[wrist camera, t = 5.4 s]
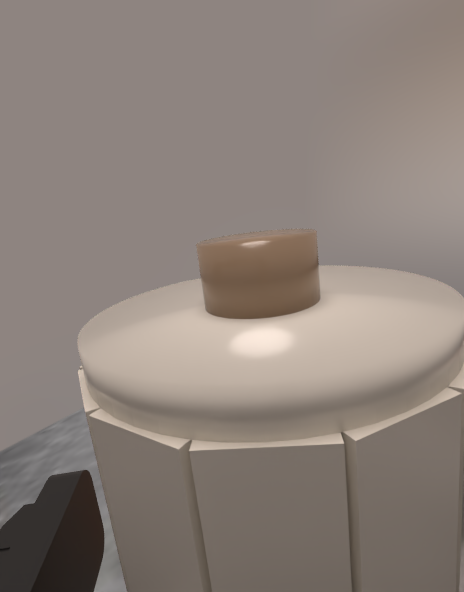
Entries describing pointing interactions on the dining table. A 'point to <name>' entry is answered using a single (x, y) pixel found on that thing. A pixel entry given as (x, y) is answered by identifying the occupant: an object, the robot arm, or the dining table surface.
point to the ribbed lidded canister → (281, 425)
